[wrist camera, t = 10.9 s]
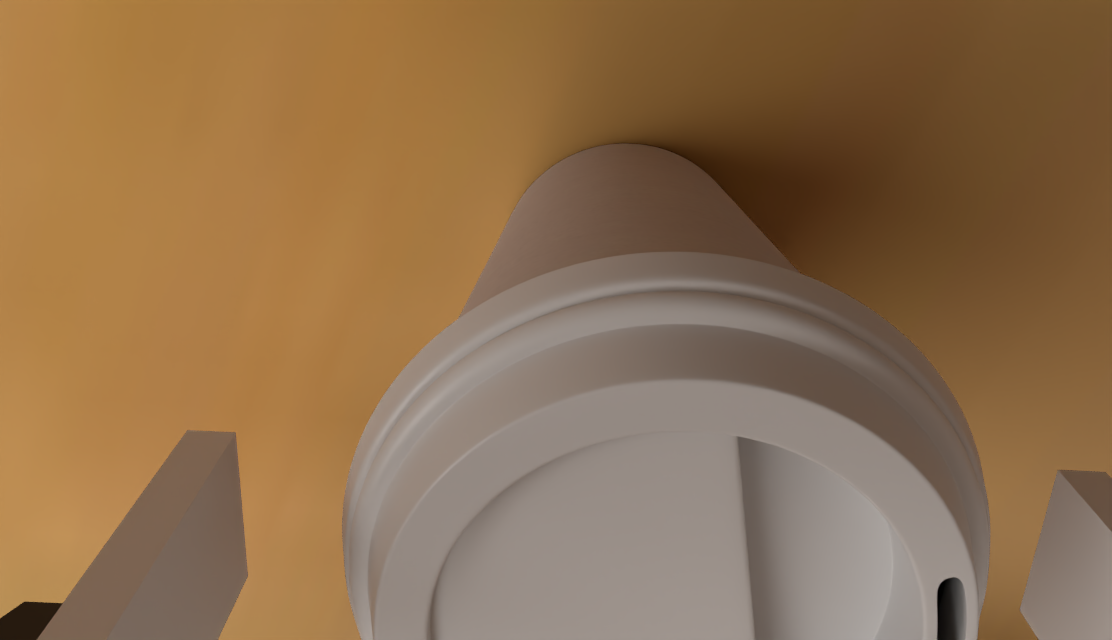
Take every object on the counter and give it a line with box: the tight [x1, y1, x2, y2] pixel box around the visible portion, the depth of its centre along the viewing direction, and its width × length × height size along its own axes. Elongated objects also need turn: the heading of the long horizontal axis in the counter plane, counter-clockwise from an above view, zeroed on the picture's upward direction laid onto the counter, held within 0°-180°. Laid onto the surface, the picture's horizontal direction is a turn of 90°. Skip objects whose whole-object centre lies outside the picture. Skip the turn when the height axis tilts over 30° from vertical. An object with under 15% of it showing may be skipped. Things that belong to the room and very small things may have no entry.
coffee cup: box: [342, 143, 990, 640], centre depth 20 cm, size 10×10×15 cm
